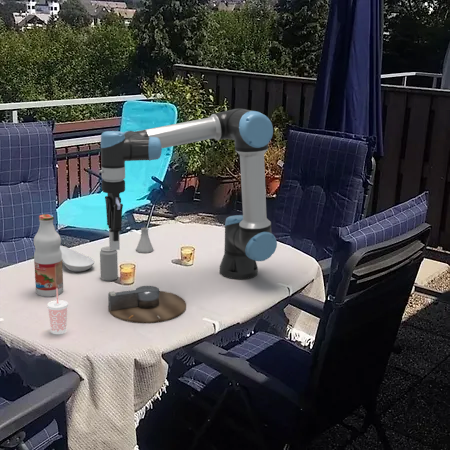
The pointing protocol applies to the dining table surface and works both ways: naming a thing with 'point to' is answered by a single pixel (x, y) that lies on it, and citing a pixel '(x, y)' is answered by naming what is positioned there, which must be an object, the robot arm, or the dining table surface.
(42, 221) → the fruit juice
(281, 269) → the dining table surface
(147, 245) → the flask
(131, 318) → the dial board
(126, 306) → the dial
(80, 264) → the spoon rest
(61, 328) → the beverage cup
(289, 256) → the dining table surface
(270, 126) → the robot arm
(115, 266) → the beverage can
